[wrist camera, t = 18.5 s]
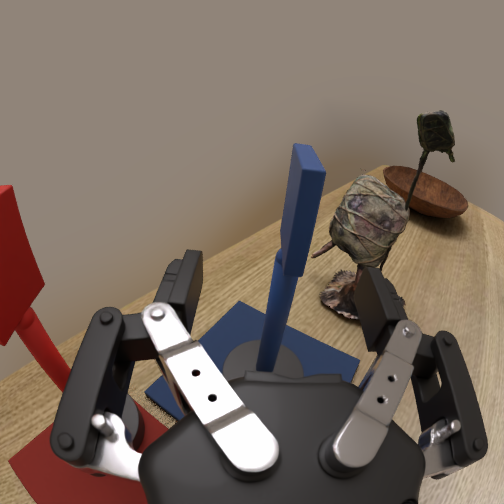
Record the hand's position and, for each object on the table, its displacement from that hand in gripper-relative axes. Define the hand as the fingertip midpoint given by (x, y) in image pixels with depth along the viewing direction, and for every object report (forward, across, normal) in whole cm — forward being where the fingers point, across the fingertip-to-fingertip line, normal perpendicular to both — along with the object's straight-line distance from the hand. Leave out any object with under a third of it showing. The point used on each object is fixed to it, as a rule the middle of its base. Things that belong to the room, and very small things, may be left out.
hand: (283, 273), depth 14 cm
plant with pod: (+10, -10, +11) cm, 18 cm away
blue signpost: (0, 0, +10) cm, 10 cm away
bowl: (+38, -33, +11) cm, 52 cm away
